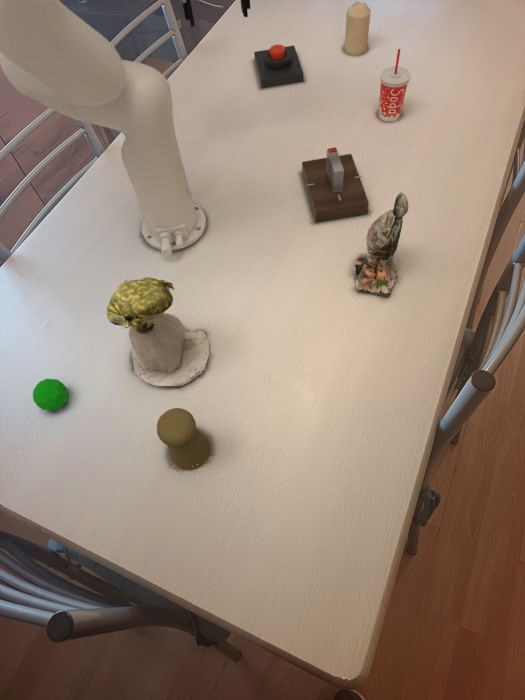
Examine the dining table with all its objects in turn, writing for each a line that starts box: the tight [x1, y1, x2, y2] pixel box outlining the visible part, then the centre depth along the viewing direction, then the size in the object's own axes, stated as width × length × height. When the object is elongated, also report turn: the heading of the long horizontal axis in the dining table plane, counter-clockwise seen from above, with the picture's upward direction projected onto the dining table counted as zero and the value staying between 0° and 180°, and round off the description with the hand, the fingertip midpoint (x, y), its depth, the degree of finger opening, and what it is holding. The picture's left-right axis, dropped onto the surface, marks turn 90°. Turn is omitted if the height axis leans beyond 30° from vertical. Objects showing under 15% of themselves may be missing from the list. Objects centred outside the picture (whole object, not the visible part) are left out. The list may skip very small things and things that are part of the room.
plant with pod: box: [352, 191, 409, 298], centre depth 79 cm, size 8×11×20 cm
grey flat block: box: [326, 146, 344, 193], centre depth 94 cm, size 6×2×5 cm, turn 8°
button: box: [269, 44, 286, 60], centre depth 117 cm, size 4×4×2 cm
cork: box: [156, 407, 212, 471], centre depth 69 cm, size 6×6×11 cm
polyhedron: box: [32, 378, 68, 411], centre depth 78 cm, size 5×5×5 cm
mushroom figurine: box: [106, 277, 210, 387], centre depth 75 cm, size 12×13×18 cm
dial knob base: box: [301, 153, 370, 224], centre depth 97 cm, size 14×11×3 cm
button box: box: [253, 45, 304, 89], centre depth 119 cm, size 12×10×4 cm
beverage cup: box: [378, 48, 412, 122], centre depth 103 cm, size 6×6×14 cm
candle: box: [344, 0, 372, 56], centre depth 119 cm, size 6×6×10 cm
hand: (218, 18), depth 90 cm, fingers open, 9 cm apart
